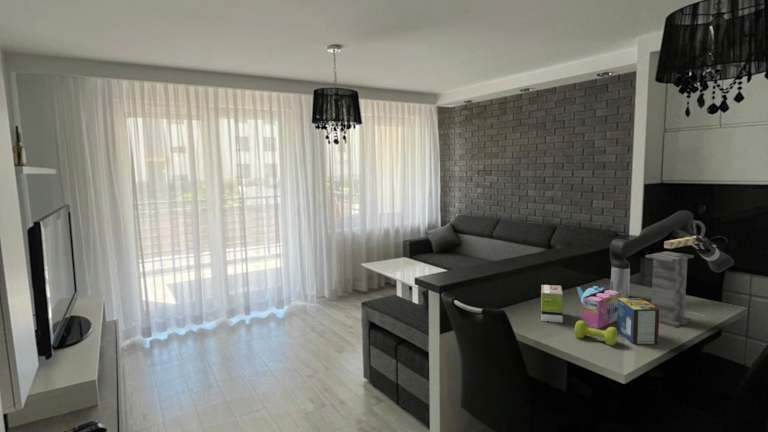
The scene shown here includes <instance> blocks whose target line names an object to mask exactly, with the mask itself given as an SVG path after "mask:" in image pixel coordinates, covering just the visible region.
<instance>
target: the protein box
mask: <svg viewBox="0 0 768 432" xmlns="http://www.w3.org/2000/svg"><path fill="white" fill-rule="evenodd" d="M659 310H660V309H658V308H657V307H655V306H653V305H652V304H651V302H649V301H647V300H645V299H644V298H641V297H640V298H638V297H637V298H635V297H632V298H631V297H630V298H618V312H617V320H616V329H617V333H619V334H620V335H621V336H622V337H624V338H625V340H627V341H628V342H629V343H631V344H632V345H659V333H660V332H659V331H660V330H659V329H660V328H659V327H660V323H659Z"/></svg>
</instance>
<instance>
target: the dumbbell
mask: <svg viewBox="0 0 768 432" xmlns="http://www.w3.org/2000/svg"><path fill="white" fill-rule="evenodd" d="M573 330H574V335H575V337H576V338H578V339H583V338H585V337H586V335H589V336H593V337H597V338H602V339H604V340H605V343H606V345H608V346H612V347H613V346H615V345H616V344H617V342H618V336H619V335H618V333H619V332H618V331H617V327H614V326H609V327H607V328H606V329H605V330H601V329H596V328H593V327H589V326H587V325H586V323H585V321H583V319H582V320H577V321H576V322H575V325H574V329H573Z"/></svg>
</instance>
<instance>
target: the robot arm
mask: <svg viewBox="0 0 768 432" xmlns="http://www.w3.org/2000/svg"><path fill="white" fill-rule="evenodd" d="M693 221H694V214H693V213H692V212H691V211H690V210H689V211H688V210H687V209H686V210H678V211H676V212H675V213H673V214H672V215H669V216H668V217H667V218H664V219H662V220H660V221H658V222H656V223H654V224H651V225H649V226H647V227H645V228H643V229H642V230H641V231H640V233H639V235H637V236H636V237H634V238H630V239H622V238H614V239H613V240H612V241H611V242H610V245H609V259H610V264H611V270H610V271H611V273H610V285H609V286H610V288H609V289H610V290H611V291H616V292H618V293H619V291H621V298H629V297H630V280H631V279H630V277H631V276H630V275H631V263H630V262H629V261H628V260H627V259H626V257H630V256H632V255H634V254H636V253H637V252H639V251H640V250H642V249H643V248H645V247H648V246H651V244H654V243H656V242H658V241H660V240H663V239H664V238H665V237H666V236H668V235H669V234H670V233H671V232H673V230H675V231H676V232H678V234H680V235H681V236H682V237H683V238H686V237H692V236H696V239H695V240H696V241H697V242H698V243H697V244H692V245H691V246H692V247H693V248H694V249H695V251H696V253H697V254H698V255H700V257H702V258H703V259H705V260H706V261H707V264H708V266H709V268H710V270H711V271H713V272H715V273H721V272H723V271H725V270H726V269H728V268H730V267H732V266H733V265H734V264H735V263H734V262H735V261H734V259H733V258H732V257H731V255H728V254H727V253H725V252H723V251H721V250H720V249H719V248H717V243H715V242H713V241H710V240H709V239H708V238H707V237H705V236H702V235H700V234H697V233H695V232H694V231H693V230H692V229H691V224H692V223H693ZM699 236H701V237H702V239H701V238H700V237H699ZM689 246H690V245H686V247H689Z"/></svg>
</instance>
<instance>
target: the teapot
mask: <svg viewBox="0 0 768 432" xmlns="http://www.w3.org/2000/svg"><path fill="white" fill-rule="evenodd" d="M604 289H605V287H603V286H602V287H600V288H599V286H596V285H594V286H592V287H589V288H587V289H586V290H585V291H583V289H582V288H581V287H579V286H577V287H576V290H577V293H578V297H579V299H580V303H581V304H582V305H583V297H586V296H588V295H591V294H594V293H596V292H599V291H601V290H604Z"/></svg>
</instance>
